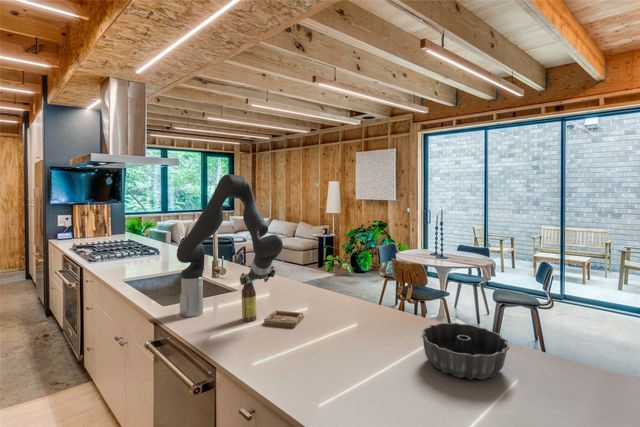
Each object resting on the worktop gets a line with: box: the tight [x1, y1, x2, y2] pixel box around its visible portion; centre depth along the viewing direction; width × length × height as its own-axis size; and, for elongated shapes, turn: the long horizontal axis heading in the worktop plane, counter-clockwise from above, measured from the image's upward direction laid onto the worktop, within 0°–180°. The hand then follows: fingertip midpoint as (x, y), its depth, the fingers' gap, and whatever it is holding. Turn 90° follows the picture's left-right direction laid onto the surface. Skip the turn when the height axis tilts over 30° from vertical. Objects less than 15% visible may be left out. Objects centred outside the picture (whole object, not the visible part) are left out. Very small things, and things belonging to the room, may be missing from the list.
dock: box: [262, 310, 305, 329], centre depth 162 cm, size 14×14×2 cm
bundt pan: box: [421, 322, 510, 381], centre depth 120 cm, size 26×26×10 cm
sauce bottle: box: [241, 273, 257, 322], centre depth 163 cm, size 6×6×20 cm
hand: (255, 282), depth 159 cm, fingers open, 8 cm apart
